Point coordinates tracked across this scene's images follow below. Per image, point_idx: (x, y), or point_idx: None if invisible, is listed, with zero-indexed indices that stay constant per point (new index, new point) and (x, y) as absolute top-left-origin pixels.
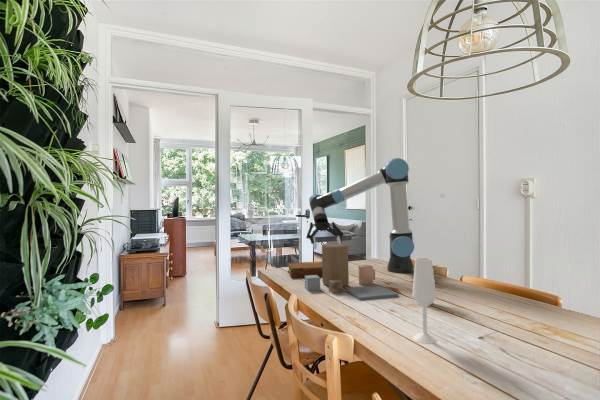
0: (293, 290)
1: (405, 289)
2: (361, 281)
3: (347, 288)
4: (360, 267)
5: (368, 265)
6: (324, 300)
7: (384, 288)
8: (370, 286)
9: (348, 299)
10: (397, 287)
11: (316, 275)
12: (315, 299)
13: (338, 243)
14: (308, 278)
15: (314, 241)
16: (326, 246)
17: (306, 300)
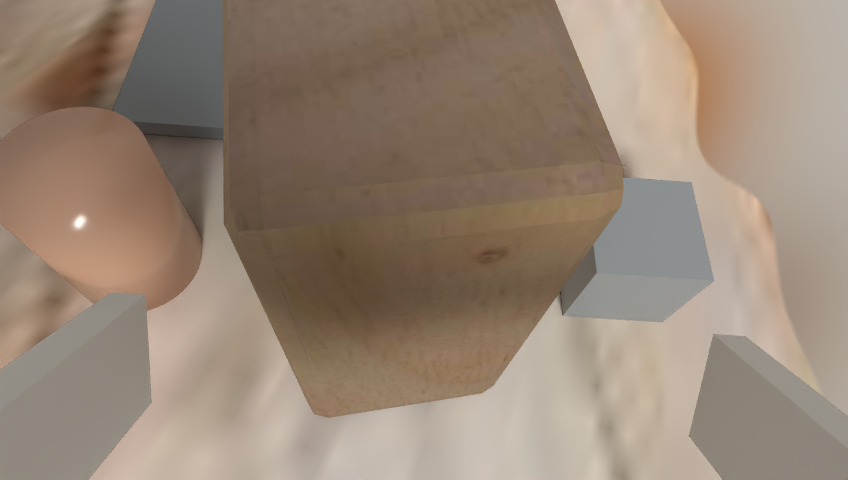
0: (752, 281)
1: (8, 56)
2: (190, 219)
3: None
4: (150, 152)
5: (6, 187)
6: (578, 44)
7: (154, 56)
8: (204, 120)
9: None
10: (7, 106)
11: (601, 250)
12: (622, 71)
13: (83, 449)
14: (683, 183)
15: (839, 412)
16: (574, 53)
17: (673, 72)
